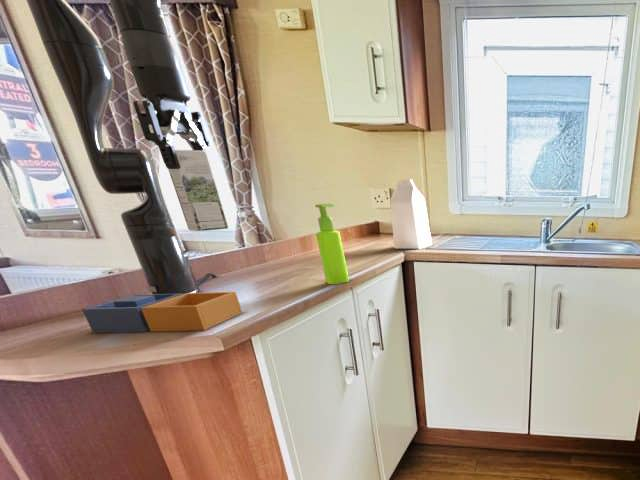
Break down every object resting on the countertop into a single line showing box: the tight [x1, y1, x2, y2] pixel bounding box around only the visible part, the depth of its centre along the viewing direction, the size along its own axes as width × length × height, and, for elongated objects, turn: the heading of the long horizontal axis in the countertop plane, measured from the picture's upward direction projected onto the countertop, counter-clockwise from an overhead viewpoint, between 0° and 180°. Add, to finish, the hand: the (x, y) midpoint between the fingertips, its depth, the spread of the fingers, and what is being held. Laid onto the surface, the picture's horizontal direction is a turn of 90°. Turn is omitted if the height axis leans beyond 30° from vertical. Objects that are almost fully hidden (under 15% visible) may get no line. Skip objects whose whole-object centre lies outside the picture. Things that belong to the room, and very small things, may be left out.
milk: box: [389, 179, 433, 250], centre depth 177 cm, size 12×12×26 cm
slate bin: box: [81, 293, 183, 334], centre depth 84 cm, size 12×11×5 cm
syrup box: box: [167, 149, 229, 232], centre depth 84 cm, size 6×6×14 cm
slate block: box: [113, 295, 156, 308], centre depth 84 cm, size 4×4×4 cm
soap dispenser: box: [314, 203, 350, 285], centre depth 113 cm, size 6×7×20 cm
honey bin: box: [141, 291, 243, 332], centre depth 84 cm, size 12×11×5 cm
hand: (189, 169), depth 82 cm, fingers closed on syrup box, 8 cm apart
